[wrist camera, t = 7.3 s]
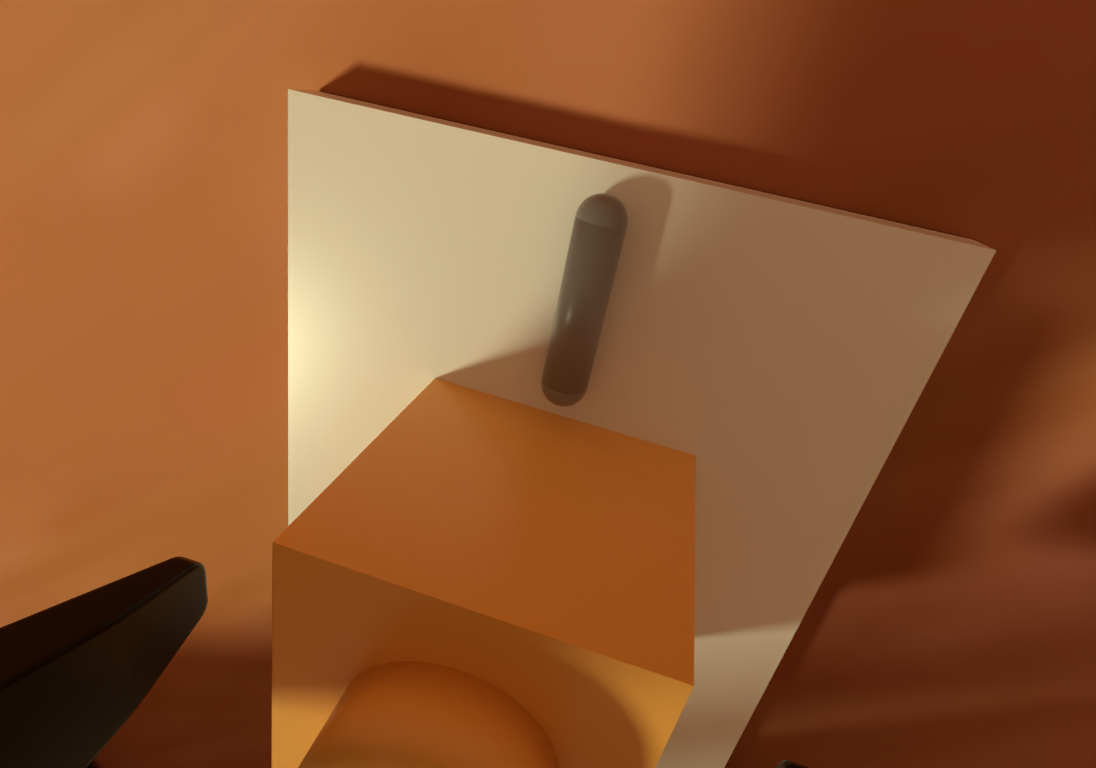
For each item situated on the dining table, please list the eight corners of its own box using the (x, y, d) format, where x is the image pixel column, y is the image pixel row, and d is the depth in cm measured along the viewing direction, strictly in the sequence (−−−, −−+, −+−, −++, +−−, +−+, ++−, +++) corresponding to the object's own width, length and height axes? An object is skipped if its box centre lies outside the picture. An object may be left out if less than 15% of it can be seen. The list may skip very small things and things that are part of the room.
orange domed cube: (623, 646, 13) (571, 1015, 8) (408, 573, 14) (221, 870, 8) (695, 455, 11) (693, 788, 6) (435, 377, 11) (203, 611, 6)
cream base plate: (699, 781, 15) (700, 1023, 11) (305, 644, 17) (178, 817, 13) (974, 239, 9) (1192, 341, 5) (315, 90, 11) (72, 76, 6)
